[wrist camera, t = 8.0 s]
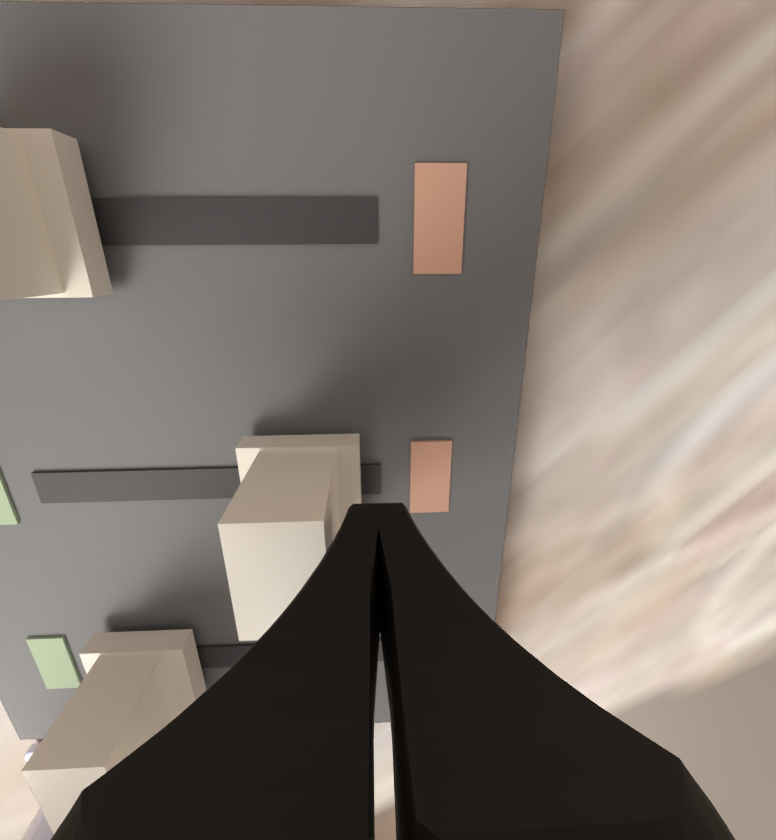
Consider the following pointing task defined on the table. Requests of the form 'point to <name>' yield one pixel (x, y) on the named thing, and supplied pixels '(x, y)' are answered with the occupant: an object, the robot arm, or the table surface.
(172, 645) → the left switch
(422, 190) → the switch panel
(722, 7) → the table surface
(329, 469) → the switch
